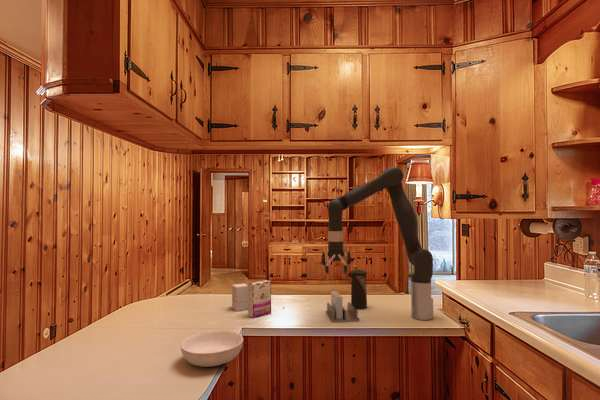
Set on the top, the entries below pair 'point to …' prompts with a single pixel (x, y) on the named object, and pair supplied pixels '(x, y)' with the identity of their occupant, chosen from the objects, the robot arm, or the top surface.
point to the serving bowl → (211, 347)
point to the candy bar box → (259, 298)
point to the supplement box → (240, 297)
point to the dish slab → (337, 304)
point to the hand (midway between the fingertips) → (336, 273)
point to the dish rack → (348, 315)
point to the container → (358, 289)
